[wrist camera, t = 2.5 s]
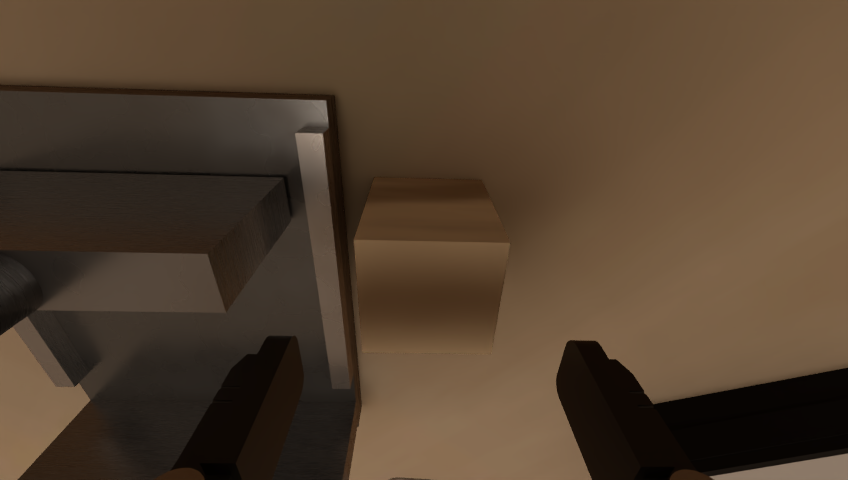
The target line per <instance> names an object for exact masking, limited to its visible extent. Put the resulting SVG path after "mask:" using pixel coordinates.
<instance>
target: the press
mask: <svg viewBox="0 0 848 480" xmlns="http://www.w3.org/2000/svg"><path fill="white" fill-rule="evenodd" d="M0 171H34V172H76V173H117V174H159V175H200V176H242V177H283V178H284V182H285V188H286V194H287V200H288V206H289V211H290V217H291V222H290V224H289V225H288V226H287V228H286V229H285V231H284V232H283V233H282V235H281V236H280V238H279V239H278V240H277V242H276V243H275V245H274V246H273V247H272V249H271V250H270V252H269V253H268V254H267V256H266V257H265V259H264V260H263V261H262V263H261V264H260V266H259V267H258V268H257V270H256V271H255V273H254V274H253V276H252V277H251V278H250V280H249V281H248V283H247V284H246V285H245V287H244V288H243V290H242V291H241V292H240V294H239V295H238V297H237V298H236V299H235V301H234V302H233V304H232V305H231V306H230V308H229V309H228V311H227V312H226V313H205V312H131V311H58V310H36V311H34V312H33V313H31V314H30V315H29V316H27V317H26V318H24V319H23V320H21V321H20V322H19V323H17V324H16V325H14V326H13V327H14V329H15V330H16V331H17V333H18V334H19V336H20V337H21V338H22V340H23V341H24V343H25V344H26V345H27V347H28V348H29V350H30V351H31V352H32V354H33V355H34V357H35V358H36V359H37V361H38V362H39V363H40V365H41V366H42V368H43V369H44V370H45V372H46V373H47V375H48V376H49V377H50V379H51V380H52V382H53V383H54V384H55V386H56V387H75V386H76V385H77V384H78V383H80V385H81V386H82V388H83V389H84V391H85V392H86V394H87V395H88V397H89V398H90V402H89V403H88V404H87V405H86V406H85V407H84V408H83V409H82V410H81V411H80V412H79V414H78V415H77V416H76V417H75V418H74V419H73V420H72V421H71V422H70V423H69V424H68V426H67V427H66V428H65V429H64V430H63V431H62V432H61V433H60V434H59V435H58V436H57V438H56V439H55V440H54V441H53V442H52V443H51V444H50V445H49V446H48V447H47V448H46V450H45V451H44V452H43V453H42V454H41V455H40V456H39V457H38V458H37V459H36V460H35V462H34V463H33V464H32V465H31V466H30V467H29V468H28V469H27V470H26V471H25V472H24V474H23V475H22V476H21V477H20V478H19V479H18V480H154V479H155V478H157V477H159V476H160V475H162V474H164V473H166V472H168V471H170V470H171V468H172V467H173V466H174V464H175V463H176V461H177V460H178V458H179V456H180V455H181V453H182V451H183V450H184V448H185V446H186V445H187V443H188V441H189V439H190V438H191V436H192V434H193V433H194V431H195V429H196V428H197V426H198V424H199V422H200V421H201V419H202V417H203V416H204V414H205V412H206V411H207V409H208V407H209V405H210V404H212V402H213V399H214V397H215V395H216V394H217V392H218V390H219V389H221V385H222V383H223V382H224V380H225V378H226V376H227V375H228V373H229V371H230V370H231V368H232V367H233V366H235V365H236V364H237V363H238V362H239V361H240V360H241V359H242V358H243V357H244V356H246V355H247V354H258V352H259V350H260V348H261V346H262V344H263V342H264V341H265V339H266V338H267V337H268V336H270V335H271V336H296V337H297V340H298V344H299V350H300V355H301V360H302V366H303V371H304V382H303V389H302V393H301V396H300V399H299V402H298V405H297V408H296V411H295V414H294V417H293V420H292V423H291V426H290V429H289V432H288V434H287V437H286V440H285V443H284V446H283V449H282V452H281V455H280V458H279V461H278V464H277V467H276V470H275V473H274V476H273V479H272V480H349V475H350V469H351V462H352V456H353V450H354V443H355V437H356V431H357V427H358V426H359V420H360V413H361V407H362V405H361V393H360V382H359V371H358V359H357V348H356V336H355V325H354V313H353V302H352V291H351V279H350V268H349V256H348V245H347V234H346V222H345V211H344V199H343V188H342V176H341V165H340V154H339V142H338V131H337V119H336V108H335V96H334V95H308V94H276V93H243V92H210V91H178V90H145V89H112V88H80V87H47V86H14V85H0Z"/></svg>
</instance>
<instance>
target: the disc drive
mask: <svg viewBox="0 0 848 480" xmlns="http://www.w3.org/2000/svg"><path fill="white" fill-rule="evenodd" d="M653 408H654V409H656V410H657V411H658V413H659V414H660V416H661V418H662V419H663V421H664V422H665V424H666V425H667V427H668V428H669V430H670V431H671V433H672V434H673V436H674V437H675V439H676V440H677V442H678V443H679V445H680V446H681V448H682V449H683V451H684V452H685V454H686V455H687V457H688V458H689V460H690V461H691V463H692V464H693V466H694V467H695V469H696V470H697V471H698V472H700V473H703V474H705V475H707V476H709V477H711V478H712V479H714V480H848V368H845V369H839V370H834V371H829V372H823V373H818V374H813V375H808V376H802V377H797V378H792V379H786V380H781V381H776V382H770V383H765V384H760V385H754V386H749V387H744V388H738V389H733V390H728V391H722V392H717V393H712V394H706V395H701V396H696V397H690V398H685V399H680V400H674V401H669V402H664V403H658V404H653Z"/></svg>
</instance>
